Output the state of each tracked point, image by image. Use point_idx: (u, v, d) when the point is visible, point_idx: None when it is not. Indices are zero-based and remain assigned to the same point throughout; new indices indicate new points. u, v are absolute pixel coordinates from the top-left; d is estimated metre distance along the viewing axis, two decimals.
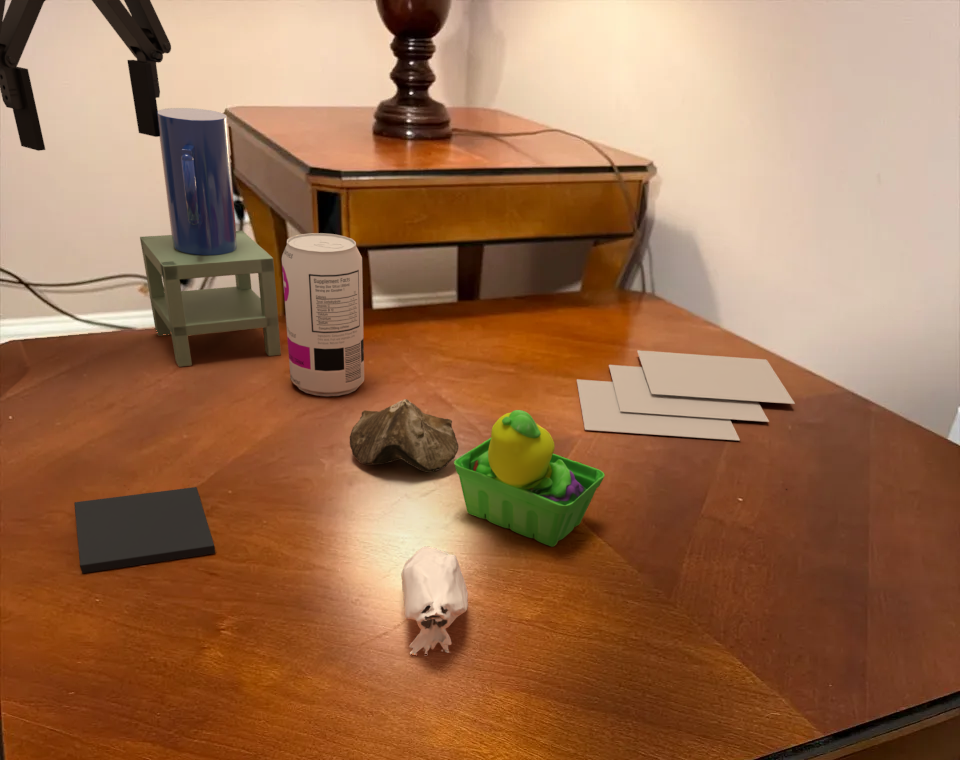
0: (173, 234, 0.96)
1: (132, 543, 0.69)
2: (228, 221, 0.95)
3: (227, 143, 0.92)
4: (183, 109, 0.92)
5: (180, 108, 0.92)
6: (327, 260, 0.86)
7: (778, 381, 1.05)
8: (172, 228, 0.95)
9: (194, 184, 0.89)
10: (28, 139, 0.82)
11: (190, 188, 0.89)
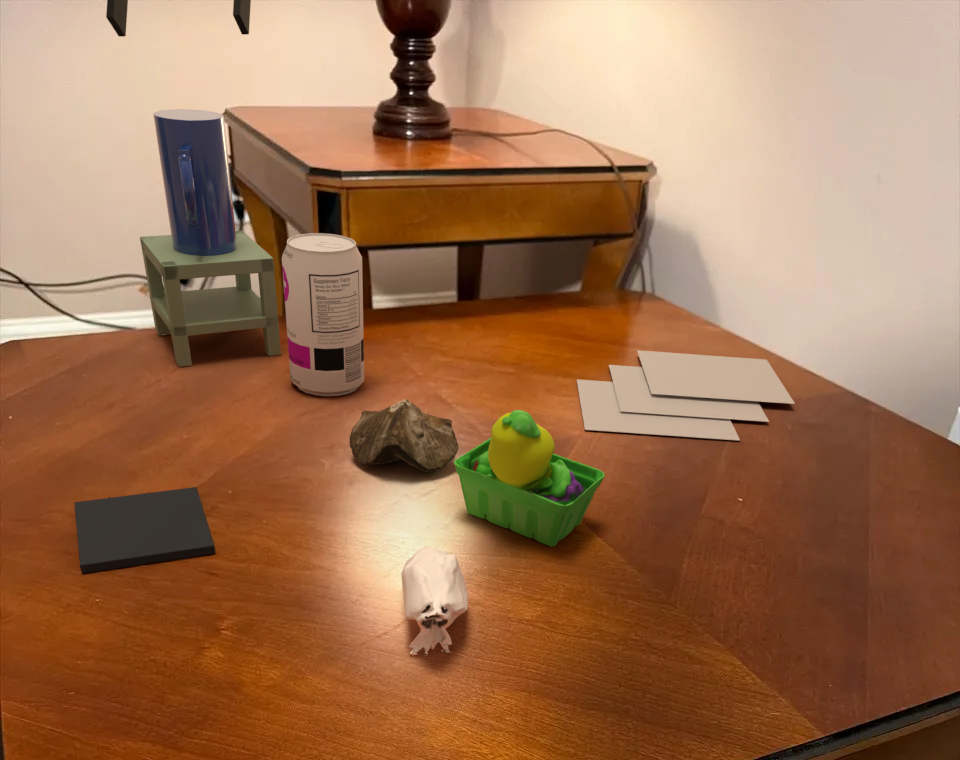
0: (173, 236, 0.96)
1: (132, 543, 0.69)
2: (227, 221, 0.95)
3: (224, 143, 0.92)
4: (180, 110, 0.92)
5: (177, 109, 0.92)
6: (327, 260, 0.86)
7: (778, 381, 1.05)
8: (172, 230, 0.95)
9: (192, 184, 0.89)
10: (245, 18, 0.91)
11: (188, 188, 0.89)
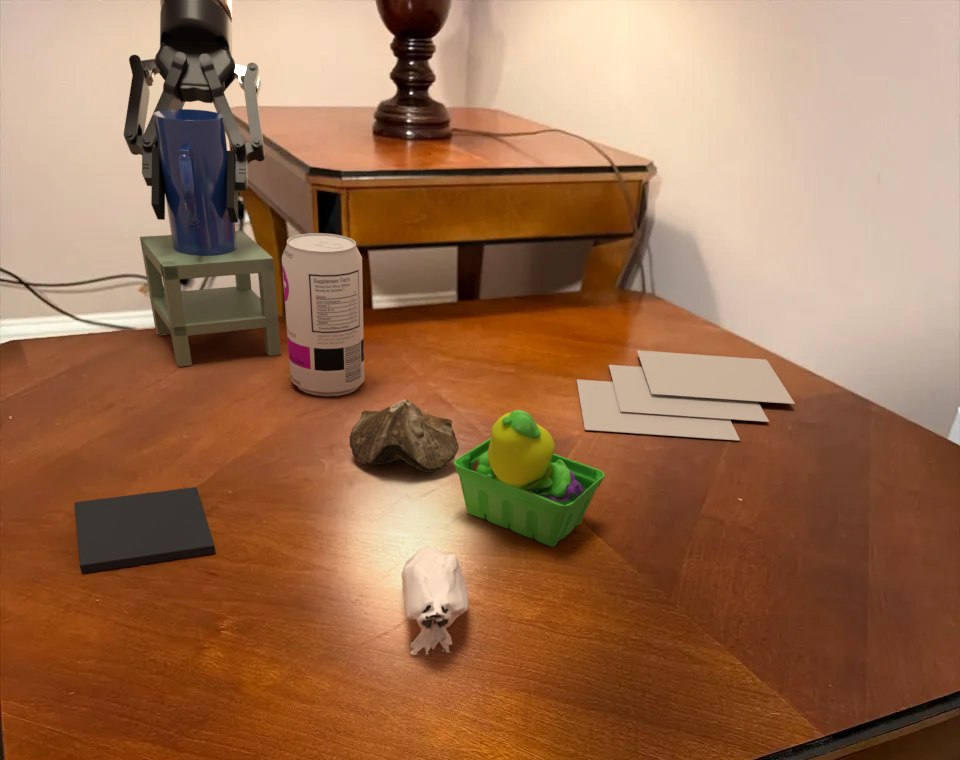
0: (173, 235, 0.96)
1: (132, 543, 0.69)
2: (227, 221, 0.95)
3: (224, 143, 0.92)
4: (180, 110, 0.92)
5: (177, 109, 0.92)
6: (327, 260, 0.86)
7: (778, 381, 1.05)
8: (172, 229, 0.95)
9: (192, 184, 0.89)
10: (236, 209, 0.94)
11: (188, 188, 0.89)
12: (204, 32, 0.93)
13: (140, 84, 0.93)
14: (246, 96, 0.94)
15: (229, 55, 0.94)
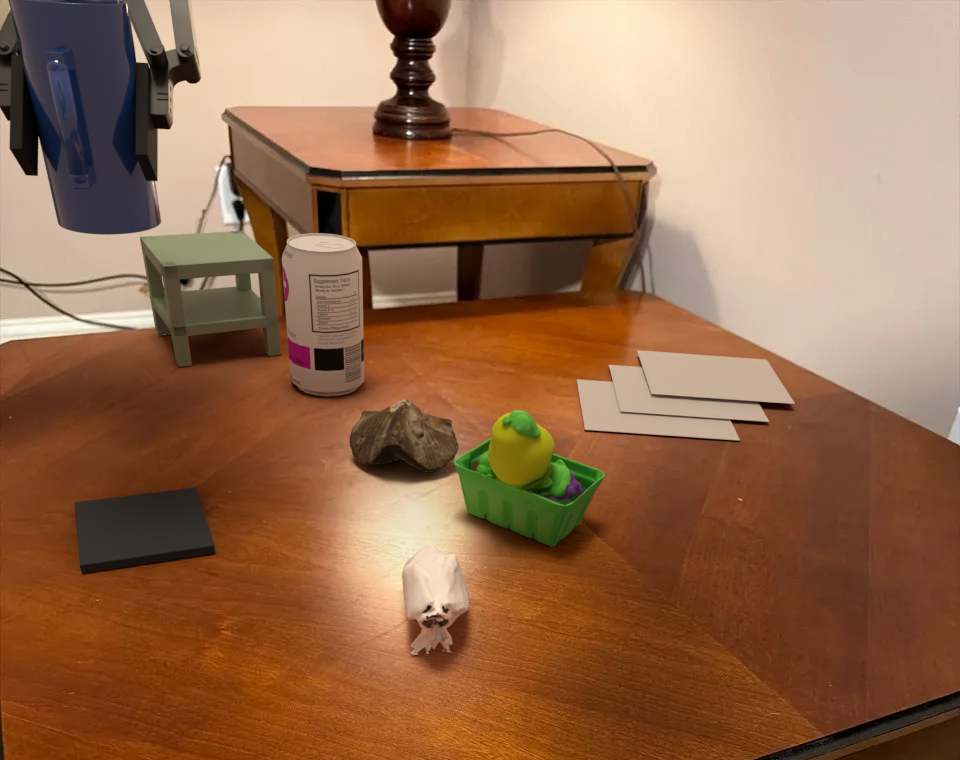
0: (55, 203, 0.60)
1: (132, 543, 0.69)
2: (140, 179, 0.60)
3: (131, 48, 0.56)
4: None
5: None
6: (327, 260, 0.86)
7: (778, 381, 1.05)
8: (52, 193, 0.60)
9: (73, 113, 0.53)
10: (153, 158, 0.58)
11: (67, 120, 0.53)
12: None
13: None
14: None
15: None
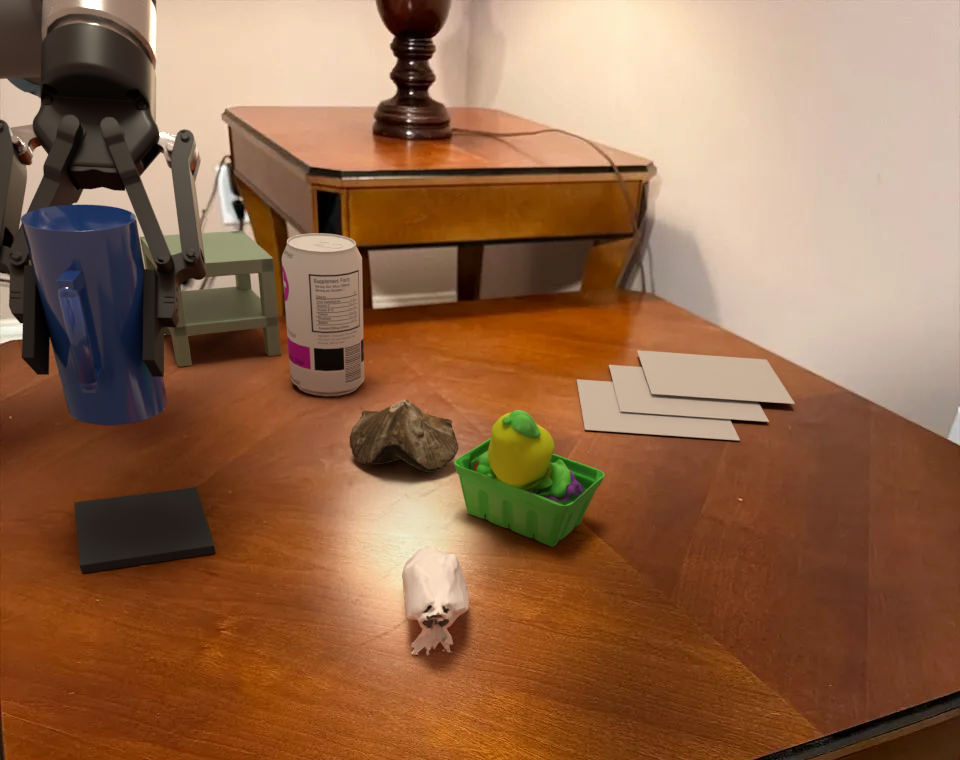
0: (65, 395, 0.62)
1: (132, 543, 0.69)
2: (147, 373, 0.62)
3: (138, 259, 0.58)
4: (69, 208, 0.58)
5: (65, 206, 0.59)
6: (327, 260, 0.86)
7: (778, 381, 1.05)
8: (62, 386, 0.62)
9: (83, 331, 0.56)
10: (159, 358, 0.60)
11: (77, 338, 0.56)
12: (107, 85, 0.59)
13: (7, 166, 0.59)
14: (175, 182, 0.60)
15: (149, 118, 0.61)
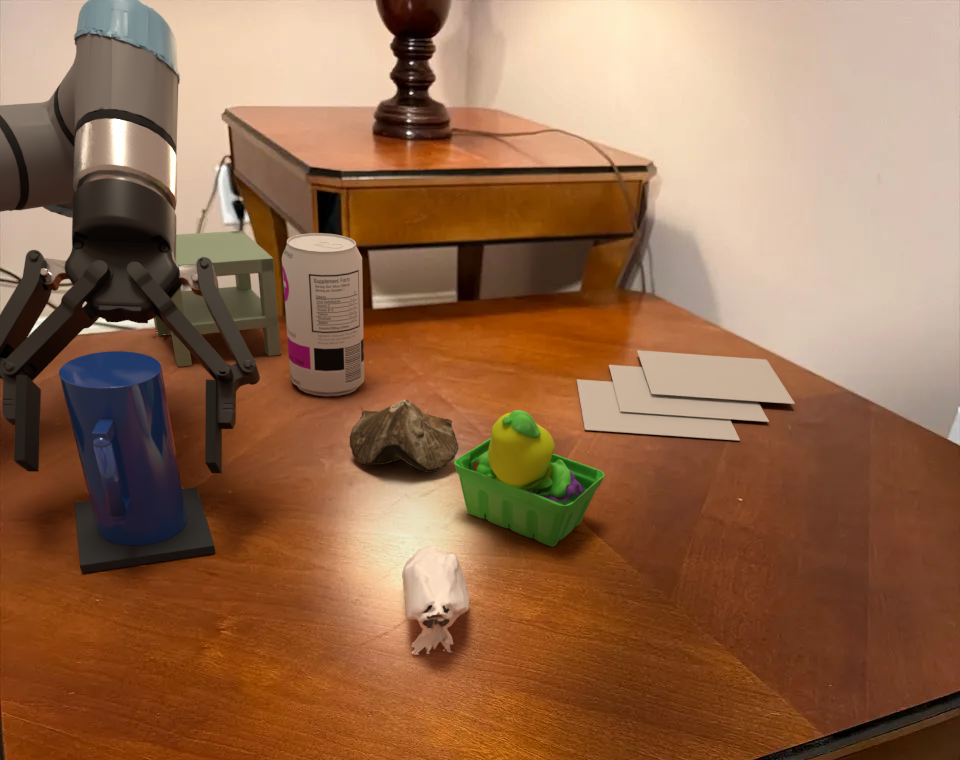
0: (95, 518, 0.68)
1: None
2: (170, 499, 0.68)
3: (163, 403, 0.65)
4: (100, 356, 0.65)
5: (97, 354, 0.65)
6: (327, 260, 0.86)
7: (778, 381, 1.05)
8: (93, 510, 0.68)
9: (114, 474, 0.62)
10: (219, 459, 0.67)
11: (109, 479, 0.62)
12: (133, 233, 0.65)
13: (28, 293, 0.65)
14: (211, 307, 0.67)
15: (170, 260, 0.67)
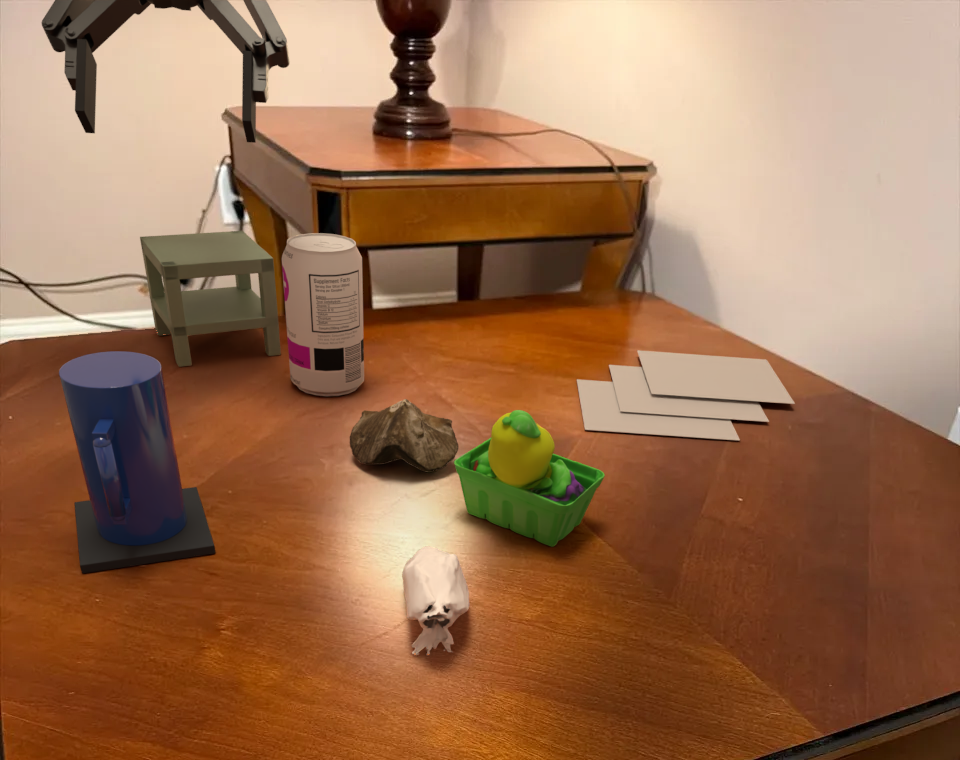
0: (95, 518, 0.68)
1: None
2: (170, 499, 0.68)
3: (163, 403, 0.65)
4: (100, 356, 0.65)
5: (97, 354, 0.65)
6: (327, 260, 0.86)
7: (778, 381, 1.05)
8: (93, 510, 0.68)
9: (114, 474, 0.62)
10: (253, 125, 0.75)
11: (109, 479, 0.62)
12: None
13: None
14: None
15: None
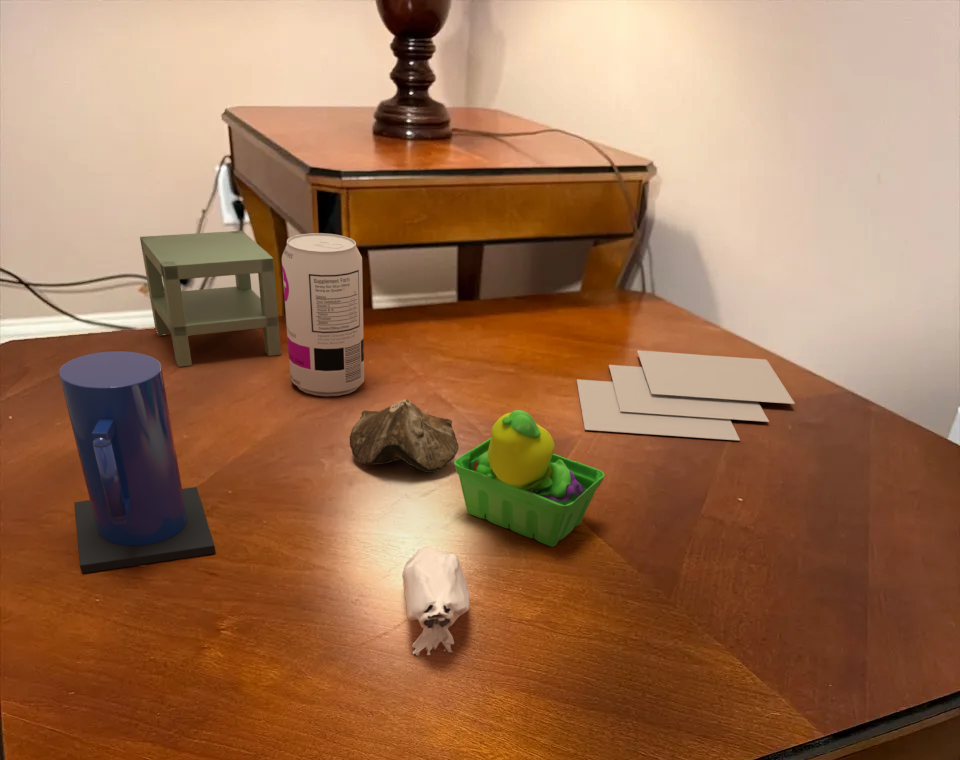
0: (95, 518, 0.68)
1: None
2: (170, 499, 0.68)
3: (163, 403, 0.65)
4: (100, 356, 0.65)
5: (97, 354, 0.65)
6: (327, 260, 0.86)
7: (778, 381, 1.05)
8: (93, 510, 0.68)
9: (114, 474, 0.62)
10: None
11: (109, 479, 0.62)
12: None
13: None
14: None
15: None
